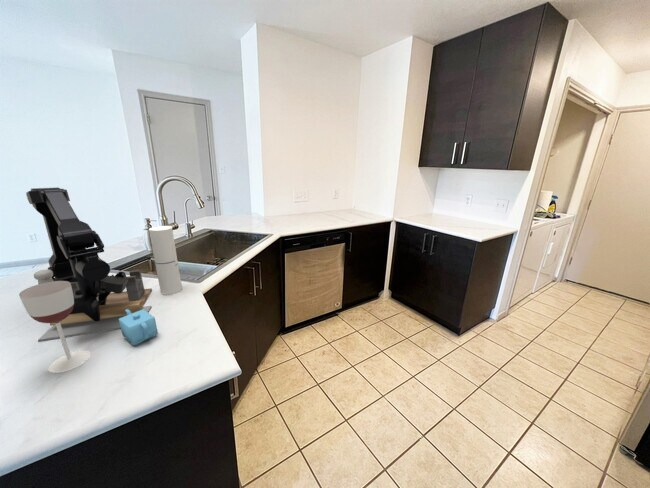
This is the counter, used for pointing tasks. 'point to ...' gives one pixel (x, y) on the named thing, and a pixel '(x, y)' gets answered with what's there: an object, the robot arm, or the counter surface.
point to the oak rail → (105, 312)
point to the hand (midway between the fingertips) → (100, 318)
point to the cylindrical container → (165, 259)
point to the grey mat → (85, 327)
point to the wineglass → (54, 316)
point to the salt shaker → (43, 276)
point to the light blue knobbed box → (138, 326)
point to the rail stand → (132, 294)
